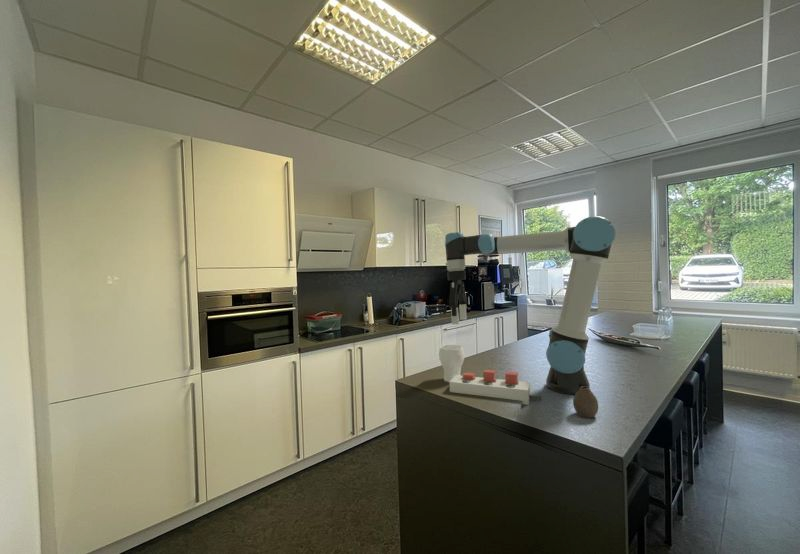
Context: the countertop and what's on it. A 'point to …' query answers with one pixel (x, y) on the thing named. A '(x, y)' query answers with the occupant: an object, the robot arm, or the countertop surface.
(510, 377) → the button
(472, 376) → the button
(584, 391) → the vase
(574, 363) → the robot arm
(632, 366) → the countertop surface
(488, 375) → the button
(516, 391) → the strip
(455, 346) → the cup
